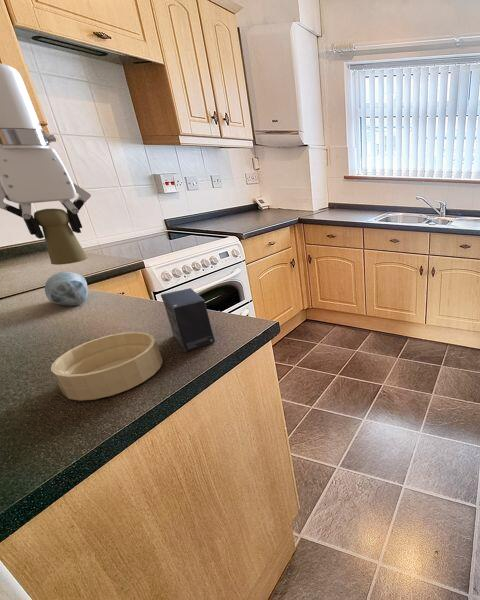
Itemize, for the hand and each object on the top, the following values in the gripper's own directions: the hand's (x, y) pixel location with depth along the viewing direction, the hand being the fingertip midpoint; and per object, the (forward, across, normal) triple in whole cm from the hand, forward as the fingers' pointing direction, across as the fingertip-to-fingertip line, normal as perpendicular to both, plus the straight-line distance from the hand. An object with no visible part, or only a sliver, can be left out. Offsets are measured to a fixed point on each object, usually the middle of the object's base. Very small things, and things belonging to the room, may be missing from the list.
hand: (58, 233), depth 71 cm
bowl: (+23, +5, +25) cm, 35 cm away
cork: (+6, 0, 0) cm, 6 cm away
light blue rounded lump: (+24, -2, -28) cm, 37 cm away
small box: (+23, -11, +24) cm, 35 cm away
